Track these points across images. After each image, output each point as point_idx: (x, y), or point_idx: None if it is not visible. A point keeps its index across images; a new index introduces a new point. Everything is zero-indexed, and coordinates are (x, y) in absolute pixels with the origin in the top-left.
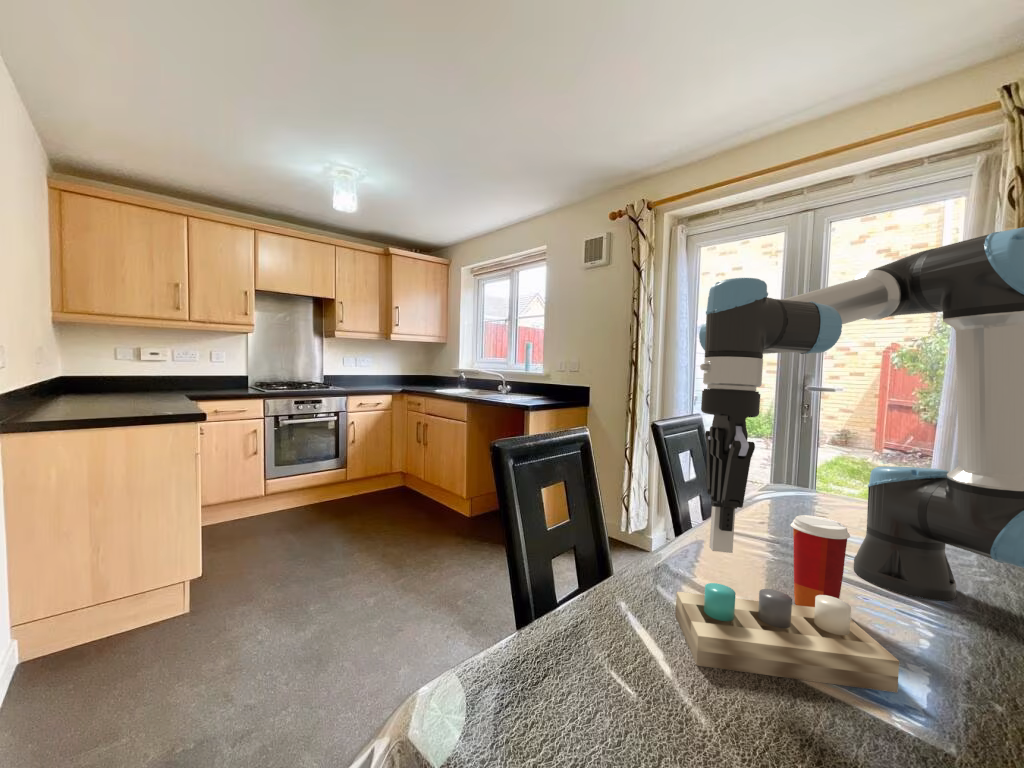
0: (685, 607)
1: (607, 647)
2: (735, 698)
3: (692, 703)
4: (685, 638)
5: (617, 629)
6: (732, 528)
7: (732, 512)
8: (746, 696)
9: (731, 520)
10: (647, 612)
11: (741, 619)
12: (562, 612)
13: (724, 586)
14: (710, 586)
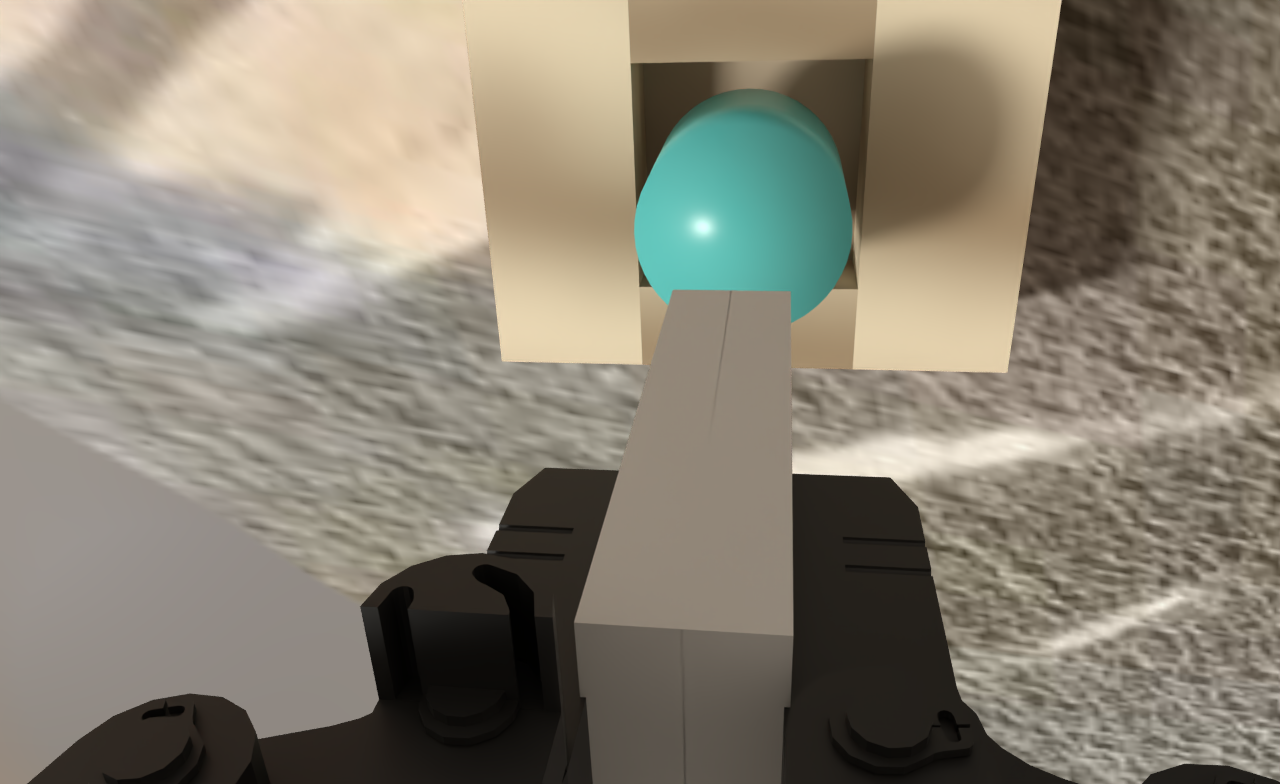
0: None
1: None
2: (1213, 196)
3: (1243, 395)
4: None
5: None
6: (911, 503)
7: (959, 697)
8: (1198, 136)
9: (926, 598)
10: (543, 433)
11: (766, 35)
12: None
13: (672, 179)
14: (701, 289)
